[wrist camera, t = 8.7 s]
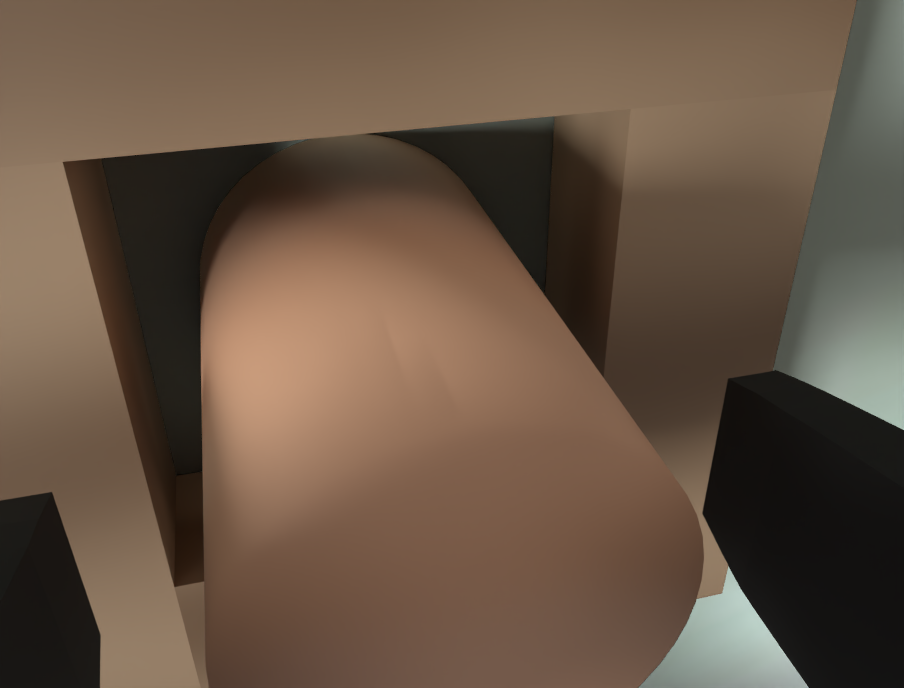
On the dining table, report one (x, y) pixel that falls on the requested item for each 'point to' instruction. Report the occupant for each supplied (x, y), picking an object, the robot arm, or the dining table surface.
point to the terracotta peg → (415, 449)
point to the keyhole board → (382, 110)
